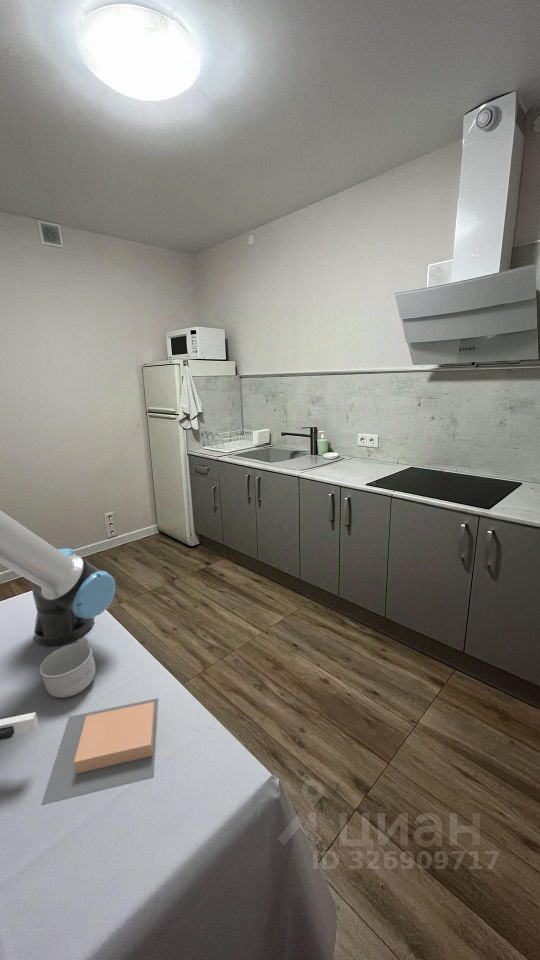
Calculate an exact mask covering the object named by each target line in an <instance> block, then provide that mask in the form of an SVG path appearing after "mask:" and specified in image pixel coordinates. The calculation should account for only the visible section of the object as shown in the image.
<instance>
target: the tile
mask: <svg viewBox="0 0 540 960" xmlns="http://www.w3.org/2000/svg"><path fill="white" fill-rule="evenodd" d="M154 724H155V707H154V702H151V703H146V704H141V705H136V706H132V707H127V708H122V709H117V710H113V711H108V712H103V713H98V714H93V715H89V716H86V719H85V722H84V726H83V730H82V734H81V737H80V741H79V745H78V749H77V752H76V756H75V760H74V765H75V769H76V773H82V772H87V771H91V770H95V769H99V768H104V767H108V766H112V765H116V764H121V763H125V762H129V761H133V760H138V759H142V758H146V757H150V756H152V755H153V740H154Z"/></svg>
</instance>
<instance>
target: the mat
mask: <svg viewBox="0 0 540 960" xmlns="http://www.w3.org/2000/svg"><path fill="white" fill-rule="evenodd" d="M151 702H154V707H155V724H154V740H153V755H152V756H150V757H146V758H142V759H138V760H133V761H129V762H125V763H121V764H116V765H112V766H108V767H104V768H99V769H95V770H91V771H87V772H82V773H76V769H75V765H74V760H75V756H76V752H77V749H78V745H79V741H80V737H81V734H82V730H83V726H84V722H85V719H86V716H89V715H93V714H98V713H103V712H108V711H113V710H117V709H122V708H127V707H132V706H136V705H141V704H146V703H151ZM158 707H159V697H158V698H157V697H156V698H153V699H148V700H143V701H142V700H141V701H139V702H133V703H128V704H123V705H119V706H115V707H110V708H105V709H101V710H100V709H99V710H95V711H90V712H85V713H80V714H75V715H70V716H68V719H67V722H66V725H65V729H64V732H63V735H62V737H61V740H60V744H59V748H58V750H57V753H56V757H55V759H54V763H53V767H52V769H51V773H50V776H49V780H48V782H47V785H46V788H45V792H44V795H43V798H42V801H41V806H42V805H47V804H50V803H55V802H59V801H63V800H67V799H71V798H77V797H80V796H83V795H87V794H92V793H96V792H99V791H103V790H108V789H111V788H116V787H120V786H124V785H128V784H131V783H136V782H140V781H145V780H148V779H153V778H154V777H155V776H154V775H155V761H156V741H157V725H158V710H159V708H158Z"/></svg>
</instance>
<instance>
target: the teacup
mask: <svg viewBox="0 0 540 960" xmlns="http://www.w3.org/2000/svg"><path fill="white" fill-rule="evenodd" d="M39 665H40V666H39V673H40V675H41V678H42V680H43V683H44V687H45V688H46V690H47V692H48V693H49V694H50V695H51V696H52V697H55V698H60V699H61V698H69V697H73V696H75V695H78V694H79V693H82V692H83V691H84V690H85V689H86V688H87V687H88V686H89V685H90V684H91V683H92V681H93V680H94V678H95V675H96V663H95V657H94V654H93V649H92V647H91V646H90V644H89V640H88V638H86V637H80V638H78V639H77V642H76V643H70V644H67V645H63V646H62V647H59V648H57V649H55V650H53V651H52V652H51V653H50V654H48V655H47V656H46V657H45V658H44V659H43V660H42V661H41V663H40V664H39Z"/></svg>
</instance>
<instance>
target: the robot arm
mask: <svg viewBox="0 0 540 960" xmlns="http://www.w3.org/2000/svg"><path fill="white" fill-rule="evenodd" d="M75 553H76V552H75V551H74V549H72V548H69V547H68V548H67V547H65V548H59V549H58V548H57V547H55V546H53V545H51V543H49V542H47V541H46V540H45V539H43V538H41V536H39V535H37V534H36V533H34V532H33V531H31V530H30V529H28V528H27V527H26V526H24V525H23V524H21V523H20V522H18V521H17V520H15V519H14V518H13V517H11V516H9V515H8V514H7V513H5V512H3V511H2V510H1V509H0V565H2V566H4V567H5V568H7V569H8V570H11V571H12V572H13V573H15V574H18V575H19V576H21V577H23V578H24V579H26V580H27V581H29V582H30V583H29V584H30V587H31V591H32V596H33V599H34V603H35V609H36V616H35V622H34V623H35V624H34V633H33V634H34V637H35V641H36V642H37V643H38V644H39V645H42V646H47V647H51V646H61V645H65V644H68V643H71V642H74V641H75V640H79V639H80V638H82V637H84V635H86V634H87V633H88V632H89V631H90V630H91V629H92V628H93V627H92V625H93V623H94V624H95V622H94V620H95V617H97V616H100V615H101V614H102V613H104V611H106V610H107V609H108V607H109V606H110V605H111V603H112V601H113V600H114V597H115V593H116V590H115V589H116V581H115V579H114V577H113V575H111V574H109V572H107V571H105V570H101V569H99V568H97V567H95V566H94V565H92V564H91V563H89V561H86V560H85V559H83V557H81V556H79V555H77V554H75ZM93 626H94V625H93ZM91 627H92V628H91ZM90 628H91V629H90ZM89 629H90V630H89ZM88 630H89V631H88ZM87 631H88V632H87ZM86 632H87V633H86ZM85 633H86V634H85ZM38 727H39V721H38V716H37V712H35V711H34V712H31V713H26V714H24V713H23V714H21V715H20V714H19V715H18V714H13V715H8V716H4V717H0V741H4V740H8V739H9V740H10V739H11V738H13V737H14V736H19V735H25V734H29V733H33V732H36V731H37V729H38Z"/></svg>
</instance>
